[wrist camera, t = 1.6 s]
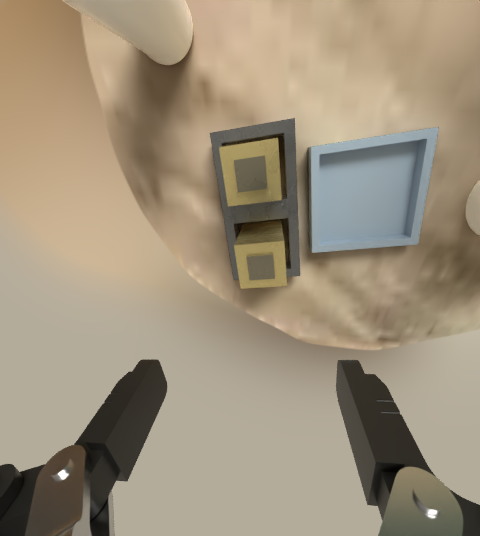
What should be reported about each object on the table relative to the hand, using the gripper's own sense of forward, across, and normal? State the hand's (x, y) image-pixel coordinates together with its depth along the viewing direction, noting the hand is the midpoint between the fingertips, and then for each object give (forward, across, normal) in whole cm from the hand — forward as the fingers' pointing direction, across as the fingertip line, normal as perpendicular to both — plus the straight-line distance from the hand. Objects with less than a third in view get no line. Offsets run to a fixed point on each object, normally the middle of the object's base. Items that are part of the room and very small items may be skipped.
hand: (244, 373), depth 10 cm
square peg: (+20, 0, -8) cm, 22 cm away
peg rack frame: (+20, 0, -4) cm, 21 cm away
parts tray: (+20, -11, -4) cm, 23 cm away
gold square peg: (+20, 0, 0) cm, 20 cm away
